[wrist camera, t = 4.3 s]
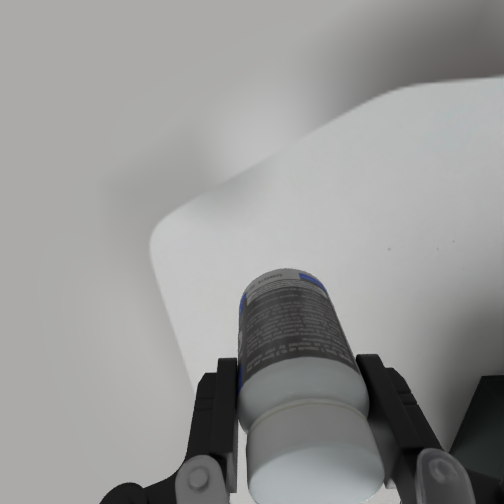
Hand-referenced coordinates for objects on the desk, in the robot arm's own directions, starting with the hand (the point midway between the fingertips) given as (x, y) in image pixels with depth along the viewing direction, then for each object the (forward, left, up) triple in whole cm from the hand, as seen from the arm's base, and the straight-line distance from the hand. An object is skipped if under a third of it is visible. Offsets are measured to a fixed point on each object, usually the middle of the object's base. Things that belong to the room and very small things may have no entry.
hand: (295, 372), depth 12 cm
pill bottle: (0, 0, -5) cm, 5 cm away
